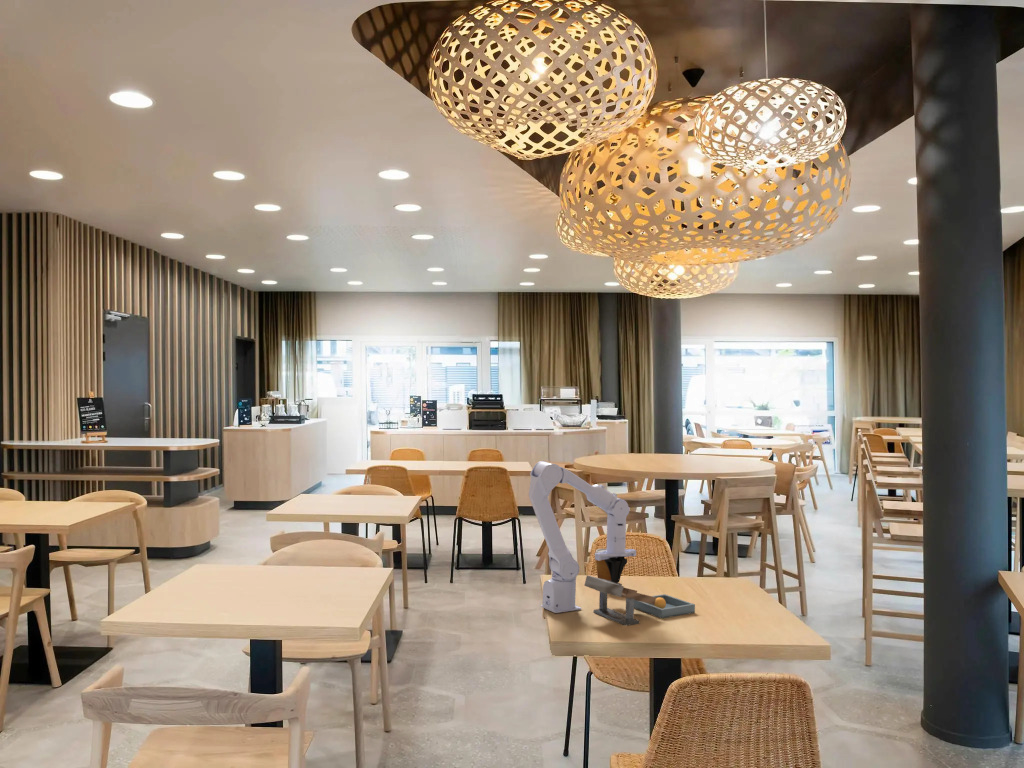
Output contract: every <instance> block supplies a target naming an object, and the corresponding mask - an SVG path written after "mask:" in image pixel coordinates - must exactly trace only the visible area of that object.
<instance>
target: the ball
mask: <svg viewBox="0 0 1024 768" xmlns="http://www.w3.org/2000/svg"><path fill="white" fill-rule="evenodd" d="M655 606H656V607H658V608H661V609H664V608H665V606H666V601H665V600H664V599H663V598H661V597H659V598H656V601H655Z"/></svg>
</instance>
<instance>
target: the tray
mask: <svg viewBox="0 0 1024 768" xmlns="http://www.w3.org/2000/svg"><path fill="white" fill-rule="evenodd" d="M652 596H653V597H656V598H659V597H661V598H663V599H664V600H665V601H666V606H665V608H664V609H661V608H658V607H656V606H655V605H653V604H649V603H645V602H641V601H636V600H634V610H638V611H641V612H643V613H646V614H649V615H652V616H654V617H656V618H659V619H666V618H673V617H679V616H684V615H691V614H695V613H696V604H694V603H693V602H692V603H691V602H689V601H687V600H683V599H679V598H677V597H674V596H672V595H668V594H665V593H664V594H656V595H652Z"/></svg>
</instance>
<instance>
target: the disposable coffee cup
mask: <svg viewBox="0 0 1024 768" xmlns="http://www.w3.org/2000/svg"><path fill="white" fill-rule="evenodd" d="M606 550H607V548H598V549H596V550H595V553H599V552H603V551H606ZM595 553H594V556H595ZM595 563H596V565H595V566H596V575H597V578H600V579H604V580H607V581H608V580H610V581H611V576H610V572H609V569H608V567H607V564H606V562H605V561H604V560H601V561H598V560H595ZM617 583H619V582H617Z"/></svg>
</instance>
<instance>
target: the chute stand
mask: <svg viewBox="0 0 1024 768" xmlns="http://www.w3.org/2000/svg"><path fill="white" fill-rule="evenodd" d="M598 600H599V602H598V607H599V608H596V609H593V613H594V614H596V615H598V616H601V617H603V618H606V619H608V620H610V621H613V622H614V623H615V622H616V623H618V624H620V625H623V626H632V625H639V624H640V620H639V619H636V618H634V617H635V616H634V615H635V608H634V599H633V598H631V597H630V598H625V613H621V612H619V611H616V610H614V609H612V608H609V607H608V594H606V593H603V592H600V591H599V599H598Z"/></svg>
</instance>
